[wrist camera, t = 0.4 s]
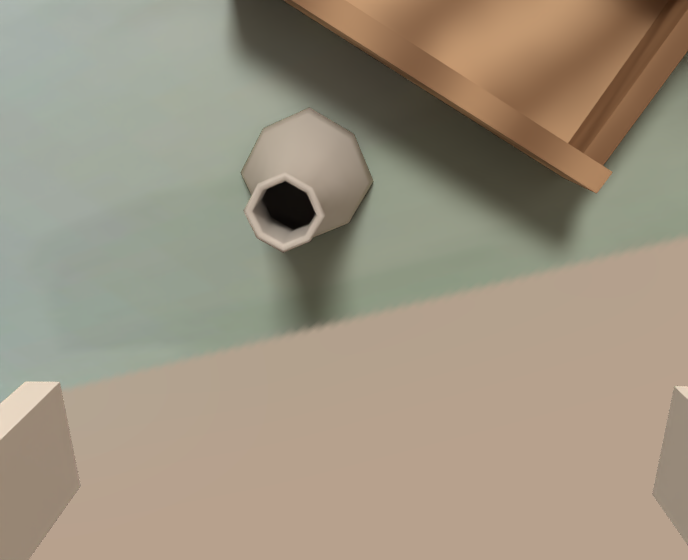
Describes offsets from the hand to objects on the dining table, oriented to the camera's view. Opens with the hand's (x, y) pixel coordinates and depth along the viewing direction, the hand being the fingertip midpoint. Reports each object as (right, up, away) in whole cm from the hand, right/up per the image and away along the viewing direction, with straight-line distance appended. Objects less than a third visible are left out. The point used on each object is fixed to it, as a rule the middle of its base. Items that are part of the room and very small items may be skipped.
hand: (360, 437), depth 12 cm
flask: (-3, +10, +21) cm, 23 cm away
